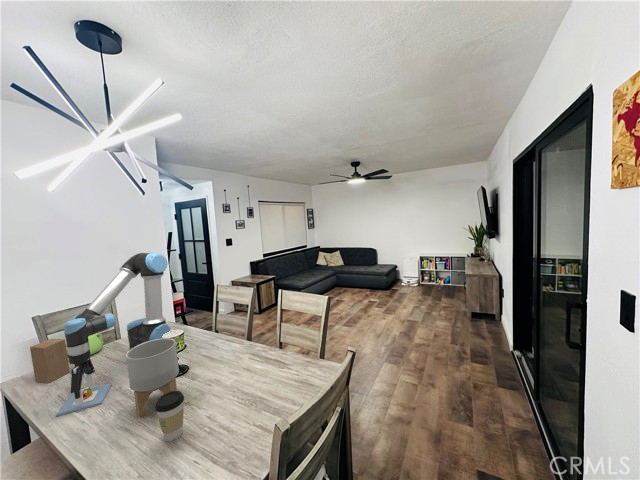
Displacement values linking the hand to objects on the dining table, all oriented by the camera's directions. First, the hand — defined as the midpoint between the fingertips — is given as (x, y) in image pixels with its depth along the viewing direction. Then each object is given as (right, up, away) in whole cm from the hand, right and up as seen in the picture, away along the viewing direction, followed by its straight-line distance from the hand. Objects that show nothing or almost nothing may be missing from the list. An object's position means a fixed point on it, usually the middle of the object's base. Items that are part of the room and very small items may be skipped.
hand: (85, 395), depth 125 cm
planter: (+38, -1, -5) cm, 38 cm away
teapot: (-41, -1, +45) cm, 61 cm away
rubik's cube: (0, -1, 0) cm, 1 cm away
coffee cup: (+55, -1, -24) cm, 60 cm away
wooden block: (-37, -3, +22) cm, 43 cm away
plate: (0, -2, 0) cm, 2 cm away
